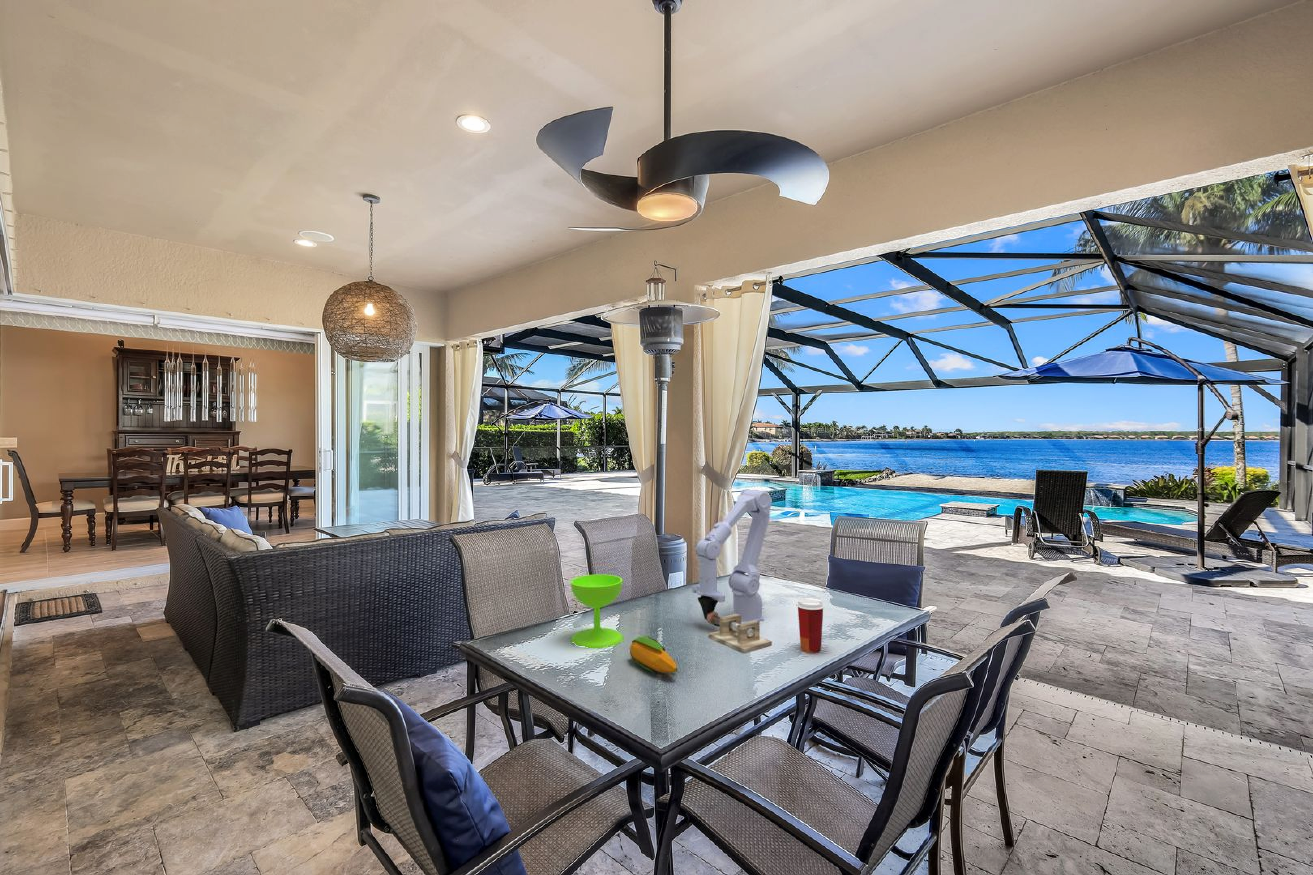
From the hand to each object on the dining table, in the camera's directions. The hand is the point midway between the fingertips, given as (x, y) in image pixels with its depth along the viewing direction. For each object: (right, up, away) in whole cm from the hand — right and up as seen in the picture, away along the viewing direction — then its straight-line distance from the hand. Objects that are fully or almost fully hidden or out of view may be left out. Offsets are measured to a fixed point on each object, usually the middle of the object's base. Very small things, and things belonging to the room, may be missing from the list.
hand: (708, 619), depth 183 cm
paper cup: (+28, -3, -19) cm, 34 cm away
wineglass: (-35, -3, -9) cm, 36 cm away
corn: (-17, -3, -32) cm, 37 cm away
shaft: (+6, -1, -9) cm, 11 cm away
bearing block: (+8, -3, -12) cm, 15 cm away
